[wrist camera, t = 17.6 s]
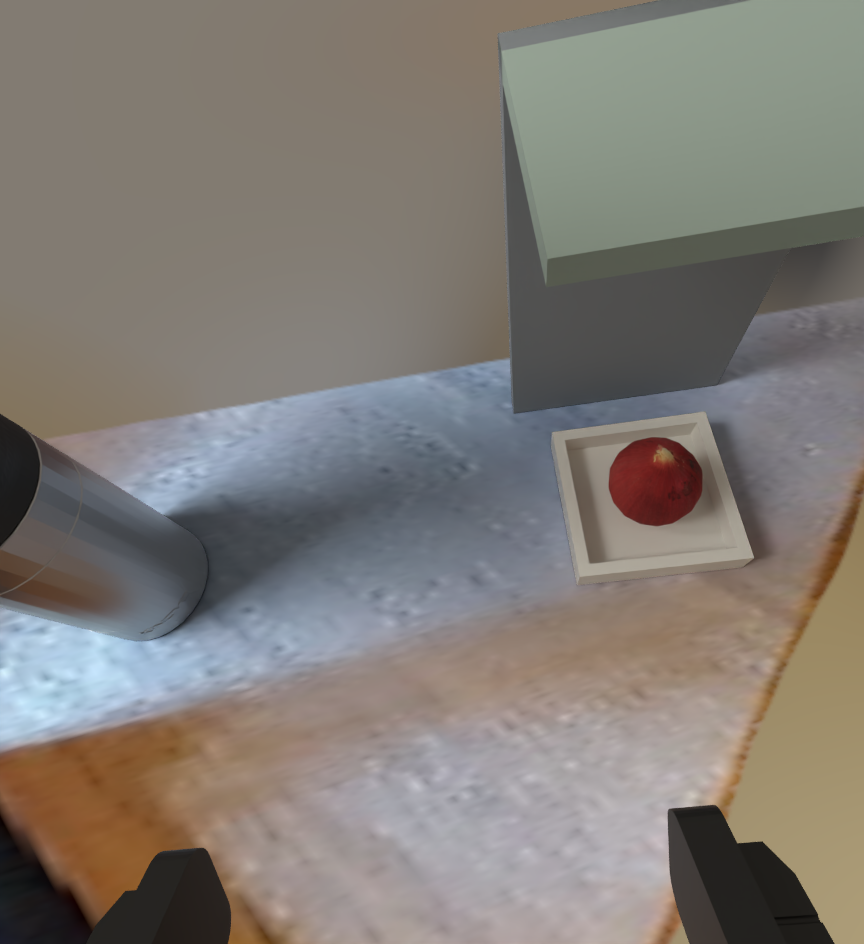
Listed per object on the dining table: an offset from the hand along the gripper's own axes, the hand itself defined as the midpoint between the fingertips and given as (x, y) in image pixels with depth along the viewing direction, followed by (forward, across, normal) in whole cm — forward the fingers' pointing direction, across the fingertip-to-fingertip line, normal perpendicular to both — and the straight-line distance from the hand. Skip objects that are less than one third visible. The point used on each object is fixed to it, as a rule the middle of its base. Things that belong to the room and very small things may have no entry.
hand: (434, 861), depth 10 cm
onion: (+32, -13, +9) cm, 35 cm away
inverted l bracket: (+35, -13, +6) cm, 38 cm away
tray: (+32, -13, +9) cm, 35 cm away
